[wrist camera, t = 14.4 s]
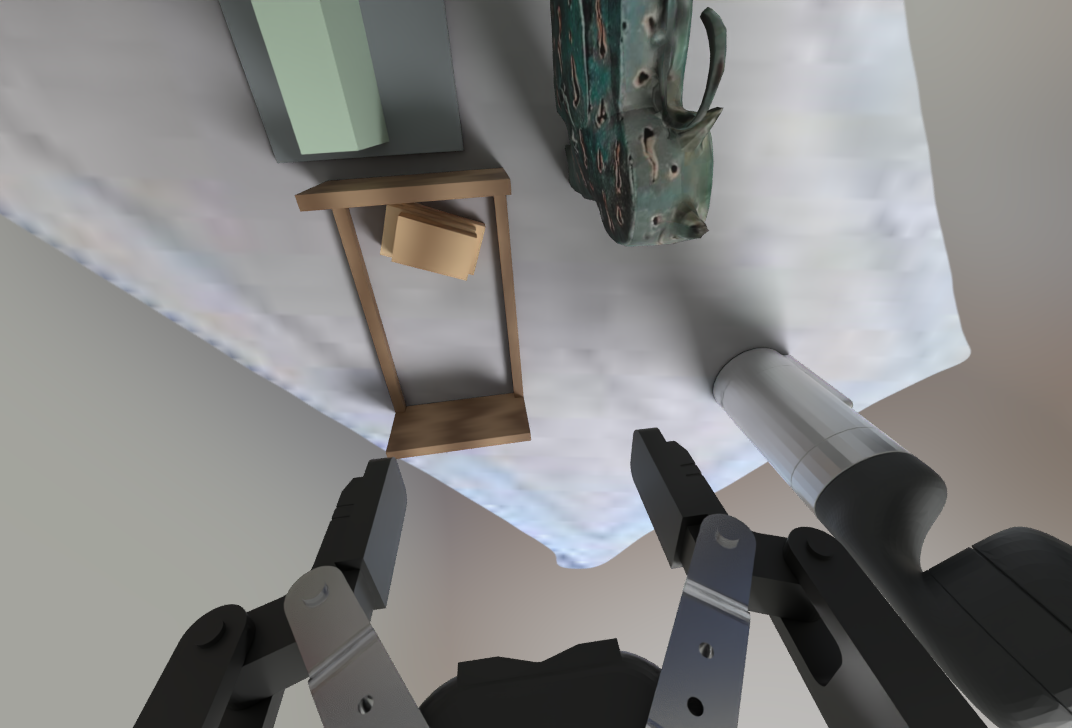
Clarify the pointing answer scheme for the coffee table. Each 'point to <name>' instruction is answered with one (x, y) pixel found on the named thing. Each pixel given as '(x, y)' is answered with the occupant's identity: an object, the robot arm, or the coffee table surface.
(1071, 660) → the robot arm
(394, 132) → the rubber mat
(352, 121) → the pale green block
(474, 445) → the walnut rack
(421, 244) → the offcut block
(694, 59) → the coffee table surface
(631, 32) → the green animal sculpture
